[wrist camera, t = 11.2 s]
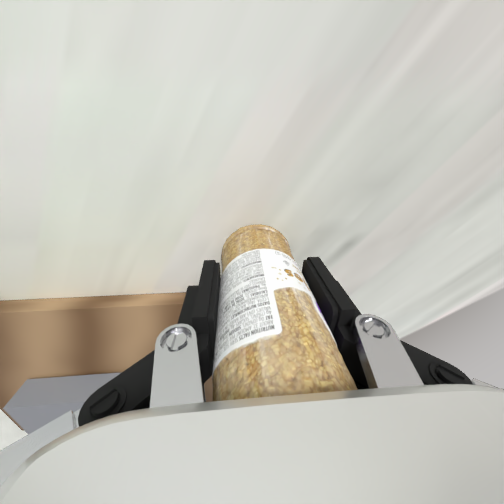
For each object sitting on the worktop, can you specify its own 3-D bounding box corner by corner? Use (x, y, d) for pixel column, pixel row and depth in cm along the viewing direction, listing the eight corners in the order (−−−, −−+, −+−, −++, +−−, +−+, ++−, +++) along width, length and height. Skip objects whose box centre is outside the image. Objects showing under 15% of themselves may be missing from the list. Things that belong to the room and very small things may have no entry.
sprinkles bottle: (300, 260, 15) (555, 727, 3) (245, 291, 16) (285, 745, 4) (266, 206, 13) (622, 939, 1) (205, 246, 14) (59, 882, 2)
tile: (126, 398, 15) (2, 408, 15) (147, 443, 19) (47, 453, 18) (137, 369, 17) (28, 377, 16) (155, 415, 20) (65, 423, 20)
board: (210, 291, 16) (208, 302, 15) (221, 399, 22) (220, 412, 21) (-69, 303, 14) (-93, 317, 13) (32, 415, 21) (22, 430, 20)
